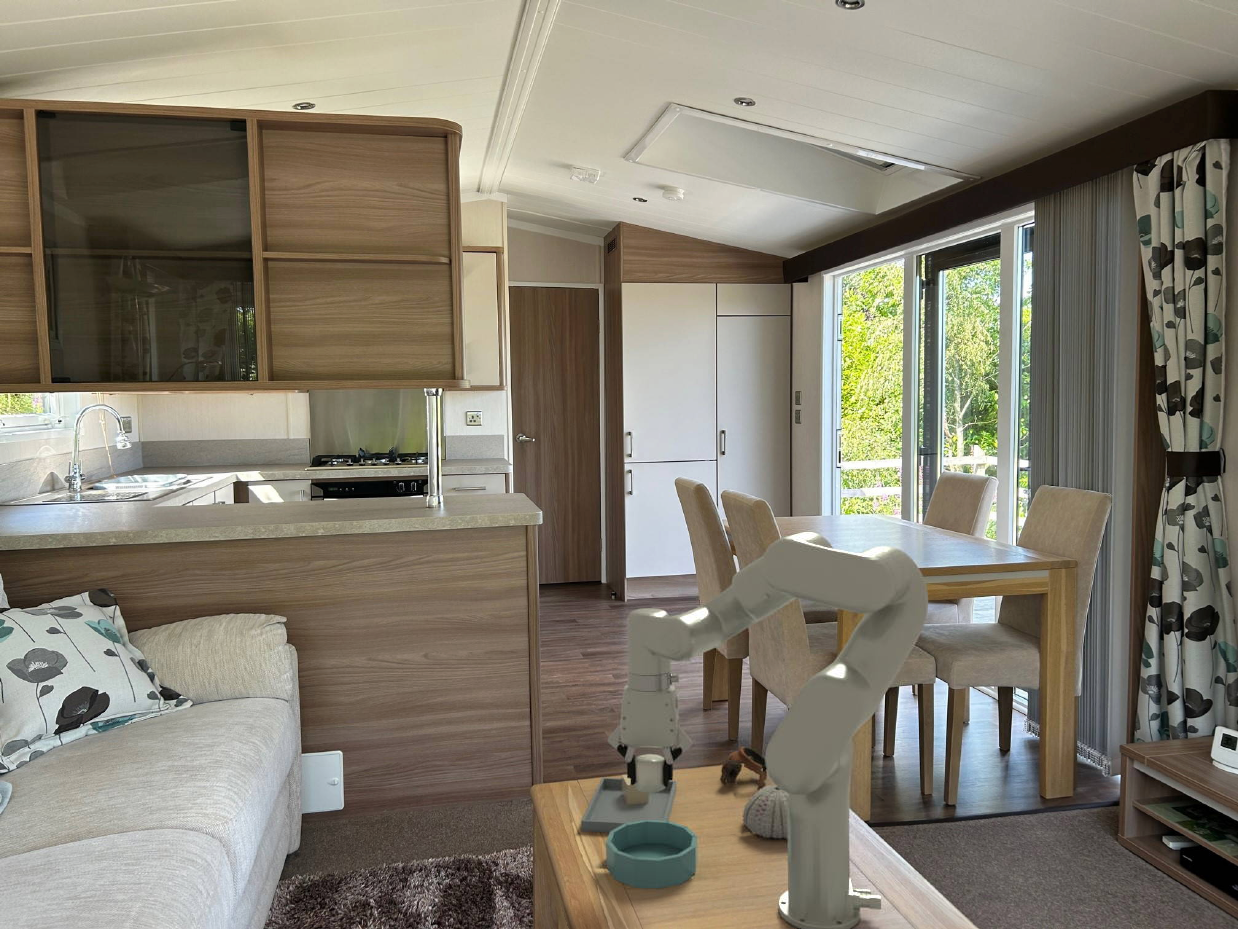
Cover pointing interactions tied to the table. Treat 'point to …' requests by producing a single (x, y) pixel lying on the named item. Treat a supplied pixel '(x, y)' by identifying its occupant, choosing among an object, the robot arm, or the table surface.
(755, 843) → the table surface
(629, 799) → the sand stone
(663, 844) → the bowl
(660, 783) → the pale stone
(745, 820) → the sea urchin shell
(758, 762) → the brown animal figurine
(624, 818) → the parts tray
